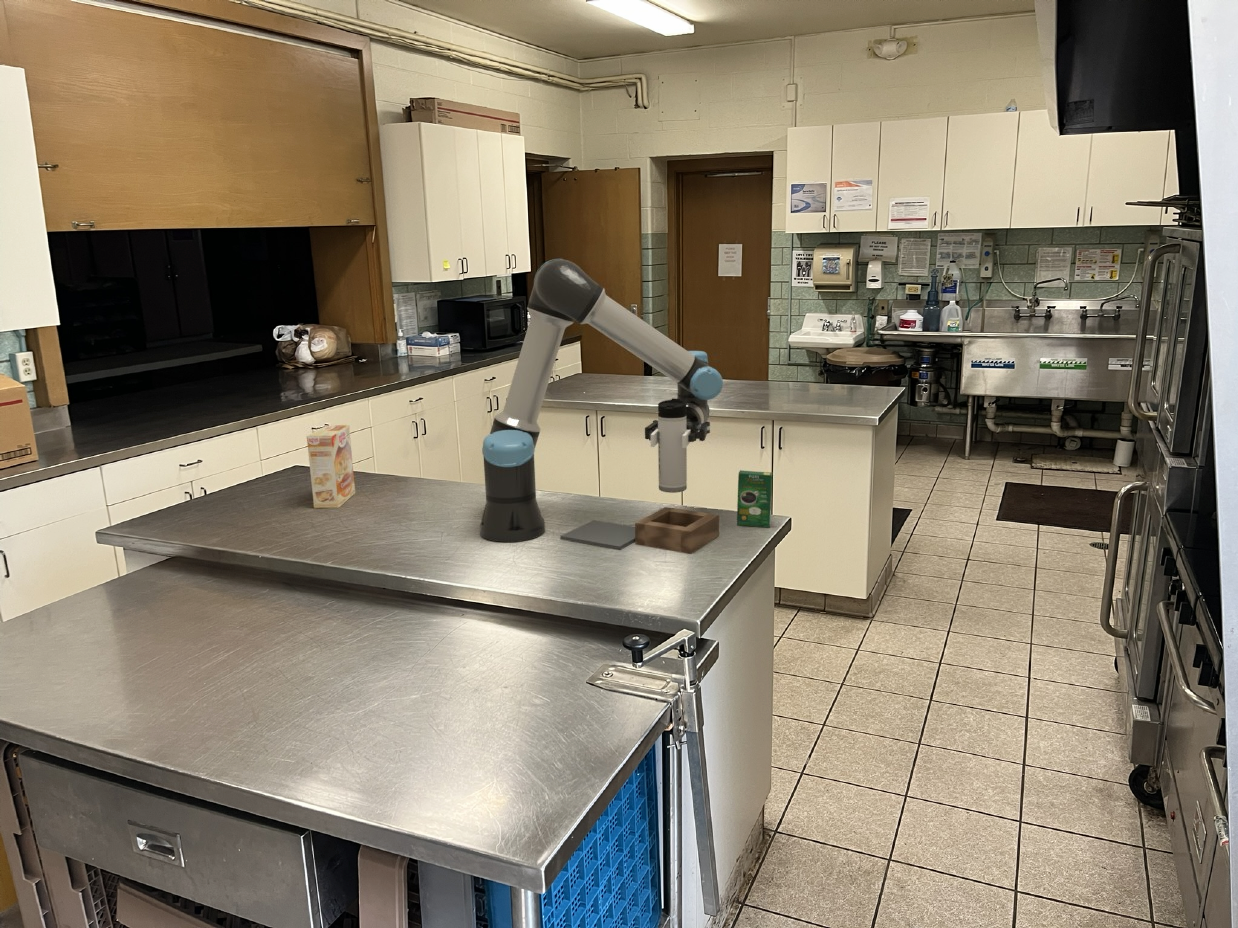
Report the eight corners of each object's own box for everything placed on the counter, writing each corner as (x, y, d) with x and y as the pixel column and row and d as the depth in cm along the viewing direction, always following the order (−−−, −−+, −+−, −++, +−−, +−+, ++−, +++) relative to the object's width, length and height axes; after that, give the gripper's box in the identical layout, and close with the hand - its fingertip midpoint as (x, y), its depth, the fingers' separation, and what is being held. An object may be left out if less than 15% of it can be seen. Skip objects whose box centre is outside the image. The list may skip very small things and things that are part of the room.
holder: (635, 544, 197) (634, 522, 196) (665, 527, 209) (665, 507, 208) (691, 553, 190) (691, 531, 189) (719, 535, 202) (719, 514, 201)
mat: (560, 539, 202) (560, 535, 202) (593, 523, 214) (593, 519, 213) (619, 549, 194) (619, 546, 194) (651, 532, 205) (651, 529, 205)
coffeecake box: (339, 508, 232) (332, 435, 227) (312, 508, 232) (304, 436, 227) (356, 493, 246) (350, 424, 242) (331, 493, 247) (324, 425, 242)
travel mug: (690, 486, 199) (690, 398, 195) (682, 493, 193) (682, 403, 189) (663, 484, 201) (662, 397, 197) (655, 491, 195) (654, 402, 191)
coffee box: (772, 524, 209) (773, 471, 206) (770, 528, 206) (771, 474, 203) (738, 522, 211) (738, 469, 208) (736, 526, 209) (737, 472, 206)
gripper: (725, 437, 210) (712, 459, 188) (647, 435, 215) (625, 456, 193) (726, 406, 208) (712, 425, 186) (646, 405, 213) (624, 423, 191)
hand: (668, 441), depth 190 cm, fingers closed on travel mug, 6 cm apart
